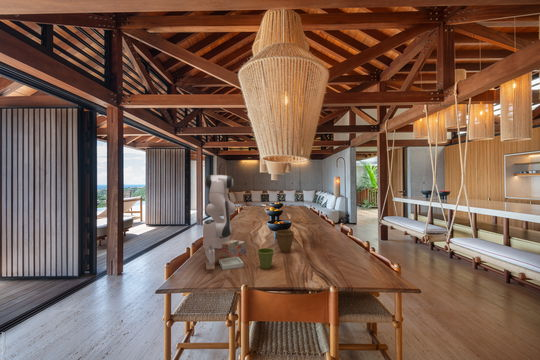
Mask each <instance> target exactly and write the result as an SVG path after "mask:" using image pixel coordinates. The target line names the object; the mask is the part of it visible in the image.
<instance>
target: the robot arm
mask: <svg viewBox="0 0 540 360" xmlns="http://www.w3.org/2000/svg"><path fill="white" fill-rule="evenodd" d="M204 184H205V187H206V188H208V189H209V194H208V201H209V203H208V204H207V205H206V207H205V212H206V214H207V215H208V216H210V217H211V218H212V219H207V220H204V222H203V227H202V236H203V238H202V245H203V246H202V248H203V249H204V252H205V256H206V258H207V260H209V266H210V267H212V263H213V262H214V263H216V252H215V251H216V250H215V249H219V250H220V249H221V250H222V243H225V242H228V241H230V240H231V237H230V236H231V235H232V233H233V229H232V222H231V215H233V214H235V212H236V209H237V208H236V204H235V203H234V202H232V201H231V200H230V199H229V196H228V190H229V189H232V187H233V186H234V179H233V177H232V175H225V174H208V175H207V176H205V179H204ZM221 216H223V218H222V217H221Z"/></svg>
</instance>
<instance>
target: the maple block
mask: <svg viewBox="0 0 540 360" xmlns="http://www.w3.org/2000/svg"><path fill="white" fill-rule="evenodd" d="M205 269H206V270H207V271H208V270H215V262H213V263H212V267H210V266H209V260H208V259H205Z"/></svg>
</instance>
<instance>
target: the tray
mask: <svg viewBox="0 0 540 360" xmlns="http://www.w3.org/2000/svg"><path fill="white" fill-rule="evenodd" d="M218 264H220V265H219V266H220V269H221V270H222V271H228V270H234V269H240V268H244V267H245V265H244V264H245V263H244V262H243V260H242V259H241V258H240V256H238V257H232V258H225V259H222V258H220V259H218Z"/></svg>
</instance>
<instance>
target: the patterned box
mask: <svg viewBox="0 0 540 360" xmlns="http://www.w3.org/2000/svg"><path fill="white" fill-rule="evenodd" d="M246 253H247V252H246V241H243V240H237V239H230V241H228V242H225V243H222V248H221V257H222V258H221V259H225V258H232V257H240V256H241V255H244V254H246Z"/></svg>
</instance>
